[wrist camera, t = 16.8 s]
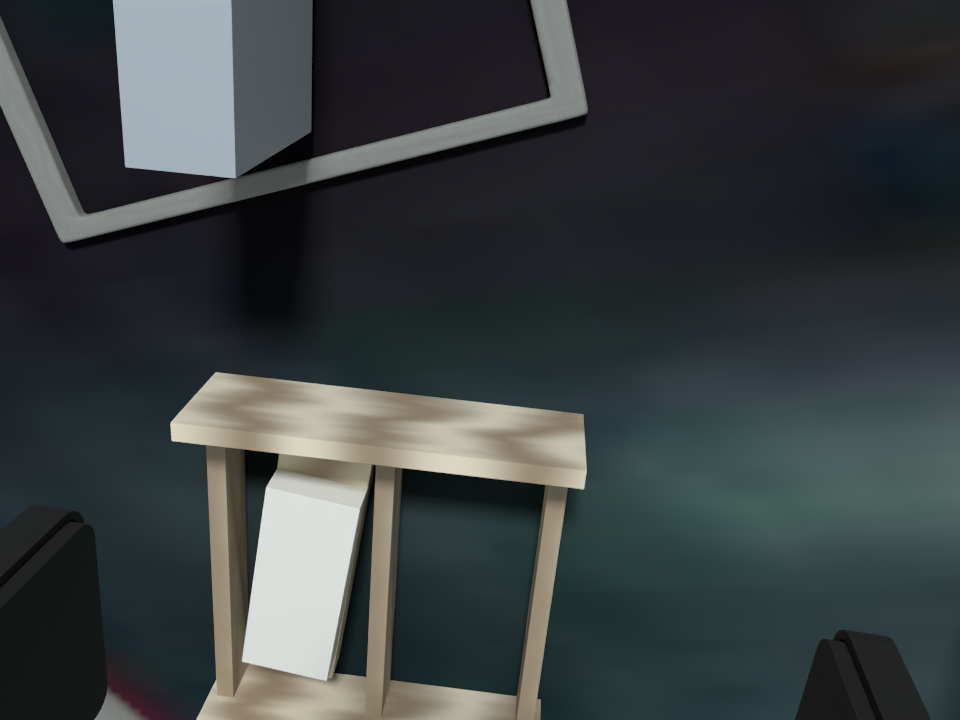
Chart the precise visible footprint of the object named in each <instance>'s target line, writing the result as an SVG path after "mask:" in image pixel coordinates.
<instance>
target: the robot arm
mask: <svg viewBox="0 0 960 720" xmlns="http://www.w3.org/2000/svg"><path fill="white" fill-rule="evenodd" d="M106 692H107V671H106V659H105V648H104V636H103V624H102V613H101V601H100V590H99V578H98V567H97V555H96V544H95V534H94V530H93V528H92V526H90V525H88V524H84V520H83V517H82V516H81V514H80V513H79V512H77V511H72V510H66V509H59V508H53V507H47V506H40V505H34V506H30V507H29V508H27V509H26V510H24V511H23V512H22V513H21V514H20V515H19V516H17V517H16V518H15V519H14V520H13V521H12V522H11V523H9V524H8V525H7V526H6V527H5V528H4V529H3V530H2V531H0V720H94V719H95V718H96V716H97V715H98V713H99V711H100V710H101V708H102V705H103V703H104V700H105V697H106ZM795 720H931V719H930V716H929V714H928V712H927V710H926V708H925V706H924V704H923V702H922V700H921V697H920V695H919V693H918V691H917V689H916V687H915V685H914V683H913V681H912V679H911V676H910V674H909V672H908V670H907V668H906V666H905V664H904V662H903V660H902V657H901V655H900V653H899V651H898V649H897V647H896V645H895V643H894V642H893V640H892V639H891V638H889V637H887V636H881V635H875V634H868V633H862V632H855V631H849V630H840V631H838V632H837V634H836V635H835V637H834V639H833V640H828V639H823V640H821V641H820V643H819V645H818V647H817V650H816V653H815V657H814V660H813V663H812V666H811V670H810V673H809V676H808V679H807V683H806V686H805V689H804V692H803V696H802V699H801V702H800V705H799V709H798V712H797V715H796V718H795Z"/></svg>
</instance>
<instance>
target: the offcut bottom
mask: <svg viewBox="0 0 960 720" xmlns="http://www.w3.org/2000/svg"><path fill="white" fill-rule="evenodd" d="M277 468H280V469H284V470H289V471H293V472H297V473H302V474H306V475H310V476H315V477H319V478H323V479H327V480H332V481H336V482H340V483H345V484H349V485H353V486H358V487H362V488H366V489H367V494H366V499H365V504H364V509H363V515H362V520H361V525H360V530H359V535H358V540H357V545H356V550H355V555H354V561H353V566H352V571H351V576H350V581H349V586H348V591H347V596H346V602H345V607H344V612H343V617H342V622H341V627H340V632H339V637H338V643H337V648H336V653H335V657H334V660H333V663H332V666H331V669H330V672H329V675H328V678H331V679H332V677H333V674H334V671H335V668H336V665H337V662H338V658H339V655H340V649H341V644H342V639H343V633H344V628H345V623H346V618H347V612H348V607H349V602H350V596H351V591H352V586H353V580H354V575H355V570H356V565H357V559H358V554H359V549H360V543H361V538H362V533H363V527H364V522H365V517H366V512H367V506H368V501H369V496H370V490H371V485H372V480H373V474H374V469H375V465H372V464H364V463H355V462H347V461H338V460H330V459H321V458H313V457H304V456H296V455H287V454H279V459H278V466H277Z"/></svg>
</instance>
